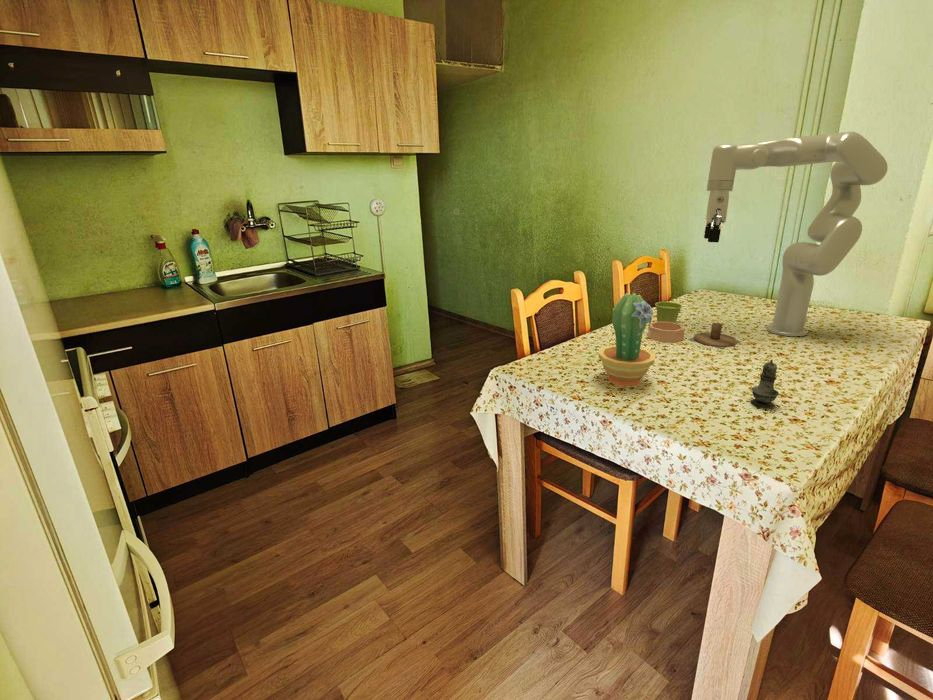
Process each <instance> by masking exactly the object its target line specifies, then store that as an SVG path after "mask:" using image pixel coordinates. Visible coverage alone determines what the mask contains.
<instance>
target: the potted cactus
mask: <svg viewBox="0 0 933 700" xmlns="http://www.w3.org/2000/svg"><path fill="white" fill-rule="evenodd" d="M653 316H654V312H653V309H652V306H651V305H650V304H648V302H647V301H645V299H643V297H642V295H641V294H636V293H634V292H633V293H631V294H630V293H628V292H626V293H625V294H623V295H622V297H621V298H620V299H619V300H618V302H617V303H616V304H615V306H613V308H612V321H611V322H612V326H613V327H612V328H613V331H614V333H615V344H614V345H607V346H604V347H601V348H600V349H599V350H598V359H599V360H600V361H601V363H602V368H603V370H604V371H605V373H606V374H607V376H608V377H607V381H609V382H610V383H611V384H613V385H614V386H615V385H616V386H618V387H619V386H620V387H627V388H629V387H637V386H639V385H640V384H641V379H642V378H643V377H644V376H645V375H646V374H647V373H648V370H649V368H650V367H651V366H654V363H655V360H656V353H654V352H652V351H651V350H650V349H647V348H644V347H641V344H642V340H643V339H642V338H643V333H644V332H645V331H644V330H645V328H646V327H647V323H648V325H649V324H651V323H652V319H653Z"/></svg>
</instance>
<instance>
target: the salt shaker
mask: <svg viewBox="0 0 933 700" xmlns="http://www.w3.org/2000/svg"><path fill="white" fill-rule="evenodd" d="M773 361H774V360H773V359H770V360H769V362H766V363H764V364H763V368H762V371H761V374H760V375H759V378H760V380H759V383H758V386H756V385H755V386H753V387H752V388H751V391H752V396H753V399H750V404H751V405H752V406H754V407H756V408H760V409H764V410H766V409H768V410H769V409H774V408H775V405H776V404H775V403H774V401H775V400H776V399H777V398H778V397H777V396H779V395H780V393H779V391H778V390H777V389H775V388H774V386H775V381H776V380H777V377H776V374H777V369H778V366H777V364H776V363H774V362H773Z"/></svg>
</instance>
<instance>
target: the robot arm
mask: <svg viewBox="0 0 933 700" xmlns="http://www.w3.org/2000/svg"><path fill="white" fill-rule="evenodd" d="M823 163H834V164H833V165H832V167H831V169H830V175H829V176H830V180H831V185H832V189H831V195H830V197H829V199H828V201H827V202H826V203H825V205H824V206H823V207H822V209H821V210H820V212H819V213H818V214H817V215H816V216H815V218H814V219H813V221H812V222H811V224H810V225H809V227H808V229H807V236H808V238H809V239H810V240H812V241H813V242H816V243H811V242H805V241H799V242H795V243H792V244H791V245H789V246H788V247H787V248H786V249H785V250H784V252H783V255H782V263H781V265H782V270H781V271H782V272H781V280H780V286H779V289H778V296H777V300H776V305H775V309H774V315H773V320H772V323H771V324H768V325H766V328H765V329H766V331H768V332H770V333H772V334H775V335H779V336H784V337H793V336H794V337H797V336H800V337H805V335H806V336H807V335H808V334H809V330H808V329H807V328H805V324H806V323H808V319H807V314H808V311H809V307H810V306H809V305H810V302H811V298H812V292H813V290H814V284H815V280H814V276H817V277H818V276H819V277H820V276H826V275H828V274H830V273H832V272H833V271H834V270H835V269H836V268H837V267H838V266H839V265H840V263H842V261H843V260H844V259H845V257H846V256H847V255H848V254H849V252H850V251H851V250H852V249H853V247H854V246H856V244H857V243H858V241H859V239H860V237H861V236H862V232H863V225H862V221H861V220H860V219H859V218H857V217H856V216H853V215H854V214H855V213H856V211H857V210H858V208H859V206H860V205H861V202H862V188H861V186H871V185H874V184H877V183H879V182H881V181H882V180H883V179H884V178H885V176H886V174H887V172H888V163H887V160H886V159H885V157H884V155H882V154H881V153H880V151H878V149H876V147H874V145H873V144H872V143H871V142H870V141H868V139H867V138H865V137H864V136H863V135H861V134H860V133H858V132H855V131H845V132H844V131H843V132H834V133H824V134H823V133H822V134H817V135H816V134H815V135H808V136H796V137H788V138H787V137H786V138H784V139H783V138H781V139H778V140H772V141H767V142H766V141H765V142H758V143H757V142H755V143H747V144H738V145H737V144H718V145H716V146H714V147H713V149H712V154H711V160H710V167H709V172H708V173H709V174H708V178H707V185H706V191H707V192H709V194H708V195H709V197H708V202H707V207H706V217H705V220H706V225H705V228H704V234H703V235H704V236H703V238H704V239H707V243H719V241H720V236H721V231H722V230H721V229H722V224H725V223H726V221H727V215H728V207H729V198H730V192H733V189H734V183H735V177H736V172H737V170H739V171H740V170H745V171H746V170H747V171H748V170H755V169H759V168H761V167H762V168H763V167H776V168H779V167H780V168H781V167H782V168H783V167H796V166H805V165H812V164H823ZM817 243H820V244H817Z"/></svg>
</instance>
